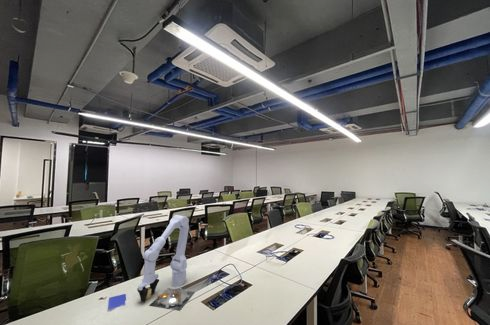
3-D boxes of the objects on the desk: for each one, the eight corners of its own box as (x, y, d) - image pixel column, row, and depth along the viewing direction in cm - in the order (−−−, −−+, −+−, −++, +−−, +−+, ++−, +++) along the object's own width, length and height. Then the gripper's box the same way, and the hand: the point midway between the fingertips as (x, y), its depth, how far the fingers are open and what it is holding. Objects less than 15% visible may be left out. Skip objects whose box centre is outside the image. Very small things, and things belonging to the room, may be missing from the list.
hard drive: (126, 304, 105) (126, 293, 116) (107, 309, 101) (109, 297, 111) (126, 308, 105) (125, 296, 116) (107, 313, 101) (108, 300, 111)
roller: (147, 298, 114) (147, 286, 114) (152, 298, 113) (152, 287, 114) (143, 301, 110) (143, 289, 111) (148, 302, 110) (149, 290, 110)
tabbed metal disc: (151, 297, 112) (152, 287, 113) (181, 286, 124) (181, 277, 125) (164, 312, 100) (164, 301, 100) (195, 298, 112) (196, 288, 112)
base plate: (167, 289, 122) (168, 288, 123) (195, 293, 119) (195, 292, 119) (148, 307, 105) (148, 305, 105) (179, 312, 101) (180, 310, 101)
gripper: (151, 265, 121) (149, 289, 120) (134, 276, 107) (131, 303, 105) (162, 267, 120) (160, 291, 118) (145, 278, 105) (143, 305, 104)
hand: (147, 297), depth 112 cm, fingers open, 7 cm apart
